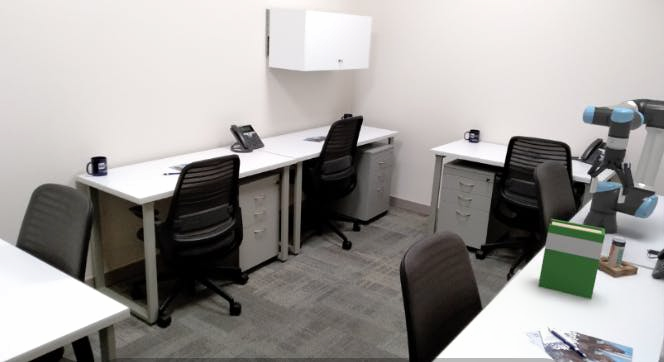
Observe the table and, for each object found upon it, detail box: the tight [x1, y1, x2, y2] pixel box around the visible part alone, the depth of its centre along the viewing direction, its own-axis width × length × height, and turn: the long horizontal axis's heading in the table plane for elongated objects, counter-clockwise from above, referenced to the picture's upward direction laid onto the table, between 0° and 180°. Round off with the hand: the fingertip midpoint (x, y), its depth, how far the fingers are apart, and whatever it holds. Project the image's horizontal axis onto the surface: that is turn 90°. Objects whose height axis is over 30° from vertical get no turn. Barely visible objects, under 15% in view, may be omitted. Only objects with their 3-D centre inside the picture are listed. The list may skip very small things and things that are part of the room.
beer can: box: [607, 235, 627, 268], centre depth 209 cm, size 5×5×12 cm
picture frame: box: [598, 255, 639, 278], centre depth 210 cm, size 12×12×3 cm
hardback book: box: [537, 218, 606, 300], centre depth 188 cm, size 18×7×24 cm, turn 64°
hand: (606, 197), depth 217 cm, fingers open, 13 cm apart
